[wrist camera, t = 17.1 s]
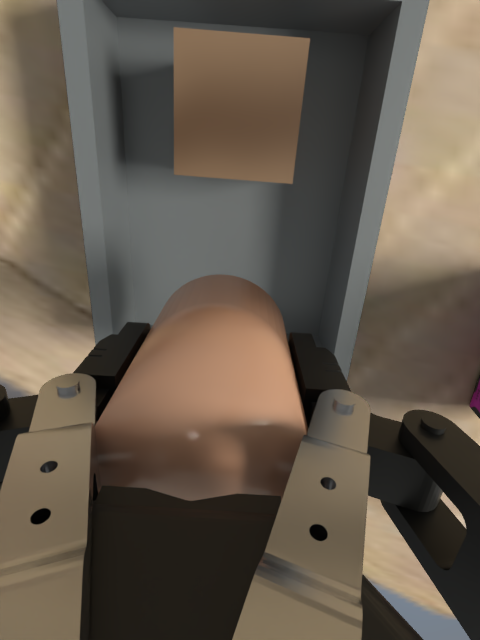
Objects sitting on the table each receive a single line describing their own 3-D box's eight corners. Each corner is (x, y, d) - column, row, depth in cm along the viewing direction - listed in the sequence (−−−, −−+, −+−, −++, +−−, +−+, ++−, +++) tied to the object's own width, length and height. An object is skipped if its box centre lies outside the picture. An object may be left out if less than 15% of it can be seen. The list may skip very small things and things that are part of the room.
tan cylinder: (155, 270, 13) (69, 372, 7) (291, 278, 13) (334, 387, 7) (160, 385, 15) (96, 547, 9) (278, 392, 15) (300, 558, 9)
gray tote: (101, -3, 18) (49, -61, 13) (387, 17, 18) (436, -32, 13) (125, 330, 25) (98, 368, 20) (328, 343, 25) (346, 384, 20)
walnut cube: (192, 61, 18) (173, 27, 13) (294, 69, 18) (310, 38, 13) (191, 171, 20) (173, 174, 15) (282, 178, 20) (292, 183, 15)
